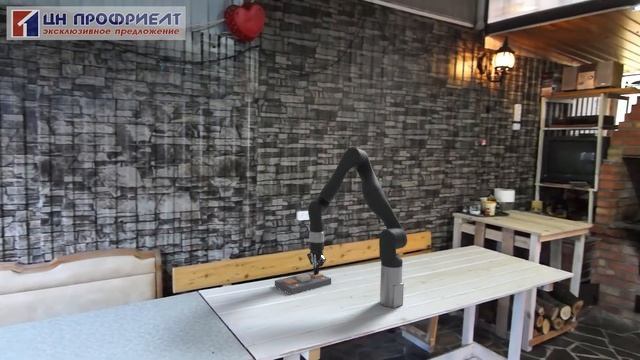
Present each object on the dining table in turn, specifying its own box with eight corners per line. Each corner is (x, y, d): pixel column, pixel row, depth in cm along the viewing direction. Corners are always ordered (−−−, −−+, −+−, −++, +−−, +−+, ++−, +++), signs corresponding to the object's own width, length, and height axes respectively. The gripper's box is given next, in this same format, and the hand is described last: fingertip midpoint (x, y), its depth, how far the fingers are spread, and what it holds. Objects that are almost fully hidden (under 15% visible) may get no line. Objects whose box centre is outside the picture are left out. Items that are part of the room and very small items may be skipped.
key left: (297, 287, 196) (297, 280, 195) (288, 289, 193) (288, 283, 192) (291, 284, 200) (291, 278, 199) (282, 286, 196) (282, 280, 196)
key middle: (310, 281, 201) (310, 275, 200) (302, 283, 198) (302, 277, 197) (304, 279, 205) (304, 273, 204) (296, 281, 201) (296, 275, 201)
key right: (323, 280, 206) (323, 274, 206) (315, 282, 203) (315, 276, 202) (316, 277, 210) (316, 272, 209) (309, 279, 206) (309, 273, 206)
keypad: (331, 284, 203) (331, 277, 203) (291, 294, 188) (291, 288, 188) (313, 277, 214) (313, 271, 214) (274, 286, 199) (274, 280, 199)
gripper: (331, 241, 202) (330, 276, 203) (314, 236, 212) (313, 269, 214) (319, 243, 197) (318, 279, 199) (302, 238, 207) (302, 272, 209)
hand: (316, 274), depth 206 cm, fingers closed
